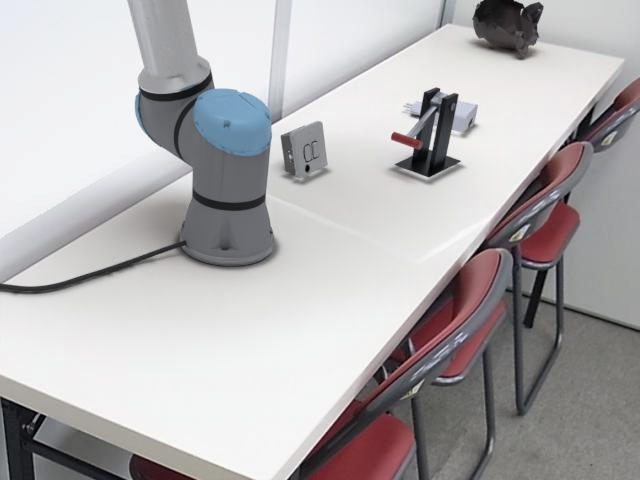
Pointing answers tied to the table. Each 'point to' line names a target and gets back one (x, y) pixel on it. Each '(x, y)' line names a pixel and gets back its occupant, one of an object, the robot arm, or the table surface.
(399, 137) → the lever
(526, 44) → the dark grey rounded piece
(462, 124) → the charger
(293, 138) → the electrical switch
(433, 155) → the bracket
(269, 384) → the table surface
